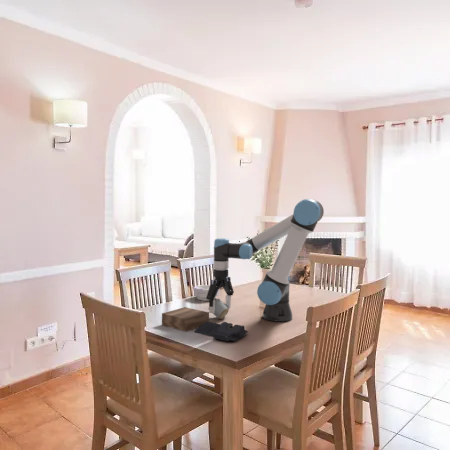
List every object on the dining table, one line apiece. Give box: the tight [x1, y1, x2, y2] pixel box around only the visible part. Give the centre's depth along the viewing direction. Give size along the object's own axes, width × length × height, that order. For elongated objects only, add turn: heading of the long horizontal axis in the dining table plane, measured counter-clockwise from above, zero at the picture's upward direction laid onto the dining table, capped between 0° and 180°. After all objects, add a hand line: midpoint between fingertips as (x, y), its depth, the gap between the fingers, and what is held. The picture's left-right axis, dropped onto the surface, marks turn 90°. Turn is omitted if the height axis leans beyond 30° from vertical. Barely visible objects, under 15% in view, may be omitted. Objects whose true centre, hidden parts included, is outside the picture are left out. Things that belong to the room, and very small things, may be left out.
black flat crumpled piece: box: [194, 321, 249, 342], centre depth 190 cm, size 15×22×5 cm
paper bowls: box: [193, 284, 220, 302], centre depth 255 cm, size 15×15×8 cm
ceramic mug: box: [208, 298, 230, 320], centre depth 214 cm, size 11×8×8 cm
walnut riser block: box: [161, 306, 210, 332], centre depth 202 cm, size 16×16×6 cm
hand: (220, 310), depth 215 cm, fingers open, 13 cm apart
